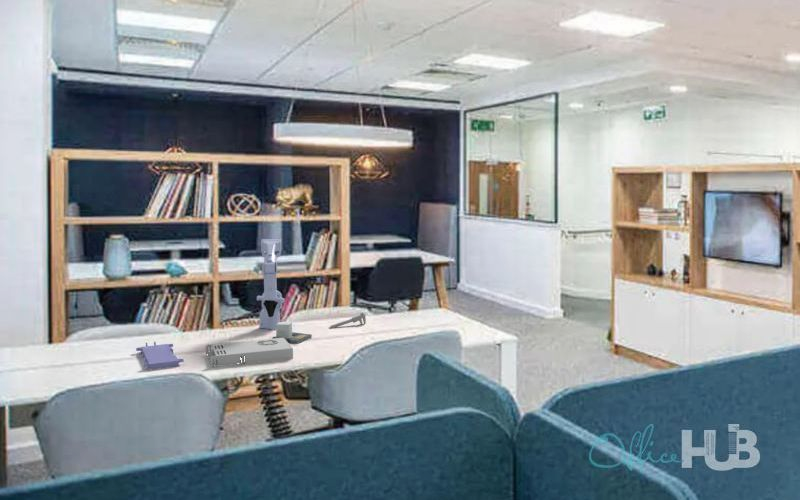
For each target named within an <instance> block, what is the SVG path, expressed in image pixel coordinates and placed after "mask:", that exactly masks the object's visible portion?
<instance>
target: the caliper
mask: <svg viewBox="0 0 800 500" xmlns="http://www.w3.org/2000/svg"><path fill="white" fill-rule="evenodd" d="M357 322H359V323H360V325H363V324H366V314H365V313H364V312H363V311H362V312H360V313H359V314H358V315H356V316H353V317H352V318H350V319H346V320H343V321H340V322H338V323H334V324H331V325H330V326H329V327H328V329H335V328H338V327H342V326H344V325H347V324H350V323H353V324H354V323H357Z"/></svg>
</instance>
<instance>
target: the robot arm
mask: <svg viewBox="0 0 800 500" xmlns="http://www.w3.org/2000/svg"><path fill="white" fill-rule="evenodd" d="M260 251H261V255H262V257H263V264H262V274H263V289H264V290H263V293H262V295H257V296H256V301H261V310H260V313H259V326H258V328H260V329H266V330H267V329H268V330H276V324H277V323H279V322H281V320H280V319H281V318H280V317H281V316H280V311H281V309H282V308H283V303H286V302H285V299H286V298H284V297H283V295H282V293H281V292H280V291H279V290H277V289H278V288H277V284H278V283H277V275H278V262H277V259H278V258H279V257H281V255H282V240H281V238H279V239H278V238H277V239H276V238H274V239H272V238H270V239H269V238H268V239H266V238H265V239H263V238H261V240H260Z"/></svg>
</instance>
